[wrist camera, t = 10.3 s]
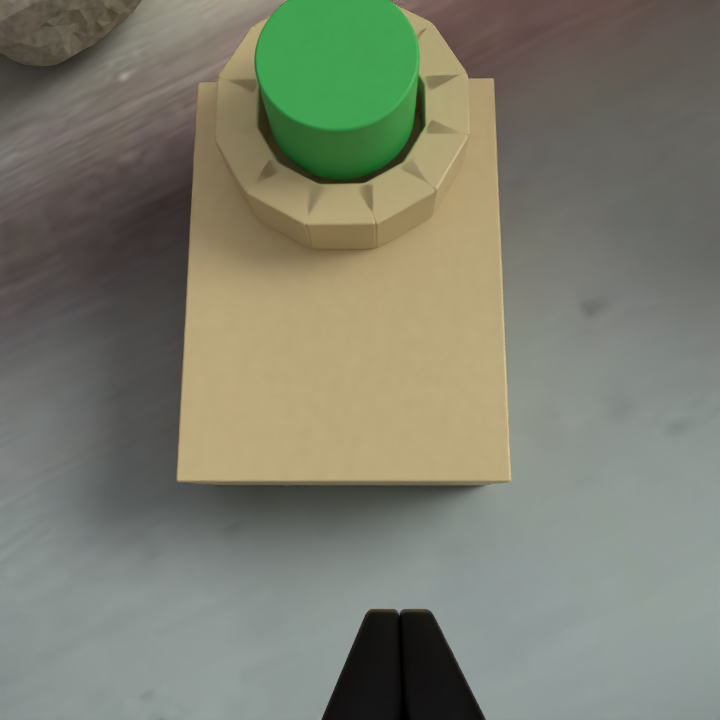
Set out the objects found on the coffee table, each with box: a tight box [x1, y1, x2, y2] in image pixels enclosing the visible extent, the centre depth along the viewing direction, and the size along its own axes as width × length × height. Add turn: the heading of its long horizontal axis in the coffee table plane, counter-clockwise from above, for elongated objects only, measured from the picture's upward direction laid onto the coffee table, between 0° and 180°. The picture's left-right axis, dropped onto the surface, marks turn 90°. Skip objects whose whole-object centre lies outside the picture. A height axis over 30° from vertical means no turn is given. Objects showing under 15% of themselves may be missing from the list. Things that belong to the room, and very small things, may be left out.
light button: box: [254, 0, 420, 180], centre depth 18 cm, size 4×4×2 cm
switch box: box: [176, 5, 511, 485], centre depth 21 cm, size 13×9×6 cm
